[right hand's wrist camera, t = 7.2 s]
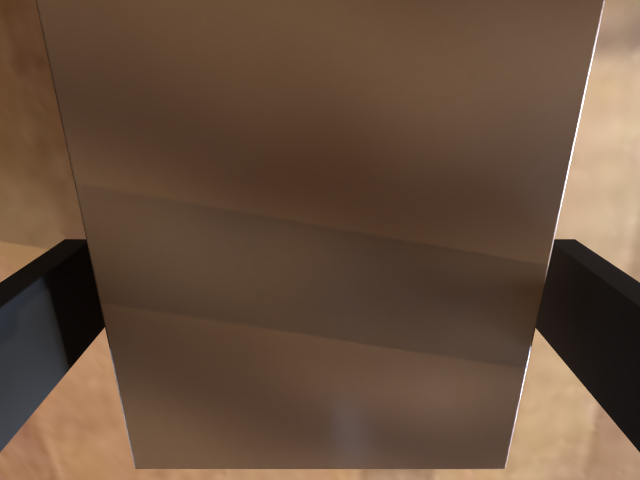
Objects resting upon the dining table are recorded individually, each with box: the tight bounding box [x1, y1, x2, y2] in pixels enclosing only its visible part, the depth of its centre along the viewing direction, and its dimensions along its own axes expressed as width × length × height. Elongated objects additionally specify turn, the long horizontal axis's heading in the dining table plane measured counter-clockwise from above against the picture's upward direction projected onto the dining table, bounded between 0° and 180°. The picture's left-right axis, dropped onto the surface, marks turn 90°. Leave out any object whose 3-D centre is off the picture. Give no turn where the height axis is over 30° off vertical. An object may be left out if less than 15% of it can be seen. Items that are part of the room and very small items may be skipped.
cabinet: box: [36, 0, 605, 469], centre depth 14 cm, size 18×10×12 cm, turn 0°
